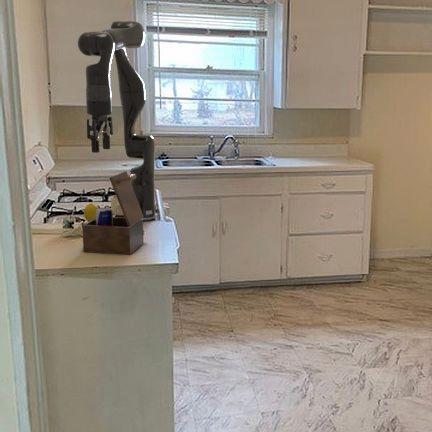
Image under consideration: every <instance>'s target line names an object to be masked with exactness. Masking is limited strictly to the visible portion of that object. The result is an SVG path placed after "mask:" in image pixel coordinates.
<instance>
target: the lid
mask: <svg viewBox="0 0 432 432" xmlns="http://www.w3.org/2000/svg"><path fill="white" fill-rule="evenodd" d="M135 178H136V175H135V174H131V175H130V174H128V172H127V171H126V170H125V171H123V172H120V173H117V174H115V175H112V176H111V177H109V178H108V179H109V181H110V184H111V186H112V188H113V192H114V195H116V197H117V199H118V202H119V204H120V207H121V209H122V212H123V215H124V217H125V220H126V222H127V225H128V227H129V226H131V225H133V224H134V223H136V222H137V221H139V220H140V219H142V218H143V217H144V216H143V213H142V211H141V208H140V206H139V203H138V200H137V198H136V195H135V192H134V190H133V187H132V185H131V182H130V181H131V180H133V179H135Z"/></svg>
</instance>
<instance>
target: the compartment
mask: <svg viewBox="0 0 432 432" xmlns="http://www.w3.org/2000/svg"><path fill="white" fill-rule="evenodd" d="M81 231H82V246H83V248H82V251H83V252H84V253H85V252H86V253H99V254H100V253H101V254H102V253H103V254H118V255H131V254H133V253H134V252H135V251H137V250H138V249H139V248H140V247H141V246H142V245H144V242H145V241H144V221H143V219H140V220H139V221H137V222H136V223H134V224H133V225H131V226H129V227H128V225H127V222H126V220H125V218H122V217H115V216H113V226H97V225H96V218H94V219H93V220H91V221H89V222H88V221H86V222H85V223H83V224H82V225H81Z"/></svg>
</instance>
